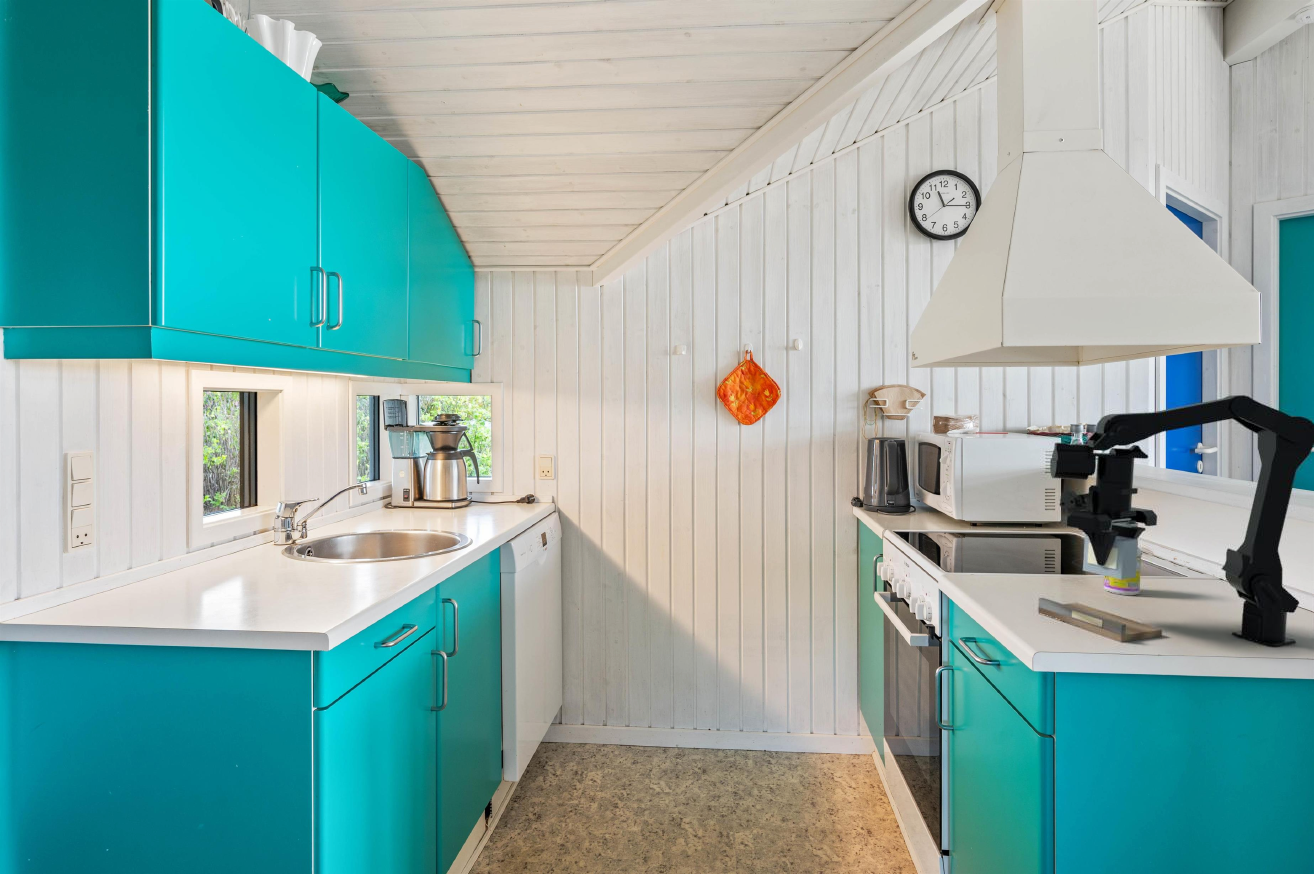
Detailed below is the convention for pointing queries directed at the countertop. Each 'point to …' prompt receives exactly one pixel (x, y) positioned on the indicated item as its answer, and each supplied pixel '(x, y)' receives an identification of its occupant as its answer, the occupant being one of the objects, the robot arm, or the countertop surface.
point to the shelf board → (1098, 621)
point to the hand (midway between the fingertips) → (1109, 564)
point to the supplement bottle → (1125, 581)
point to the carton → (1113, 559)
